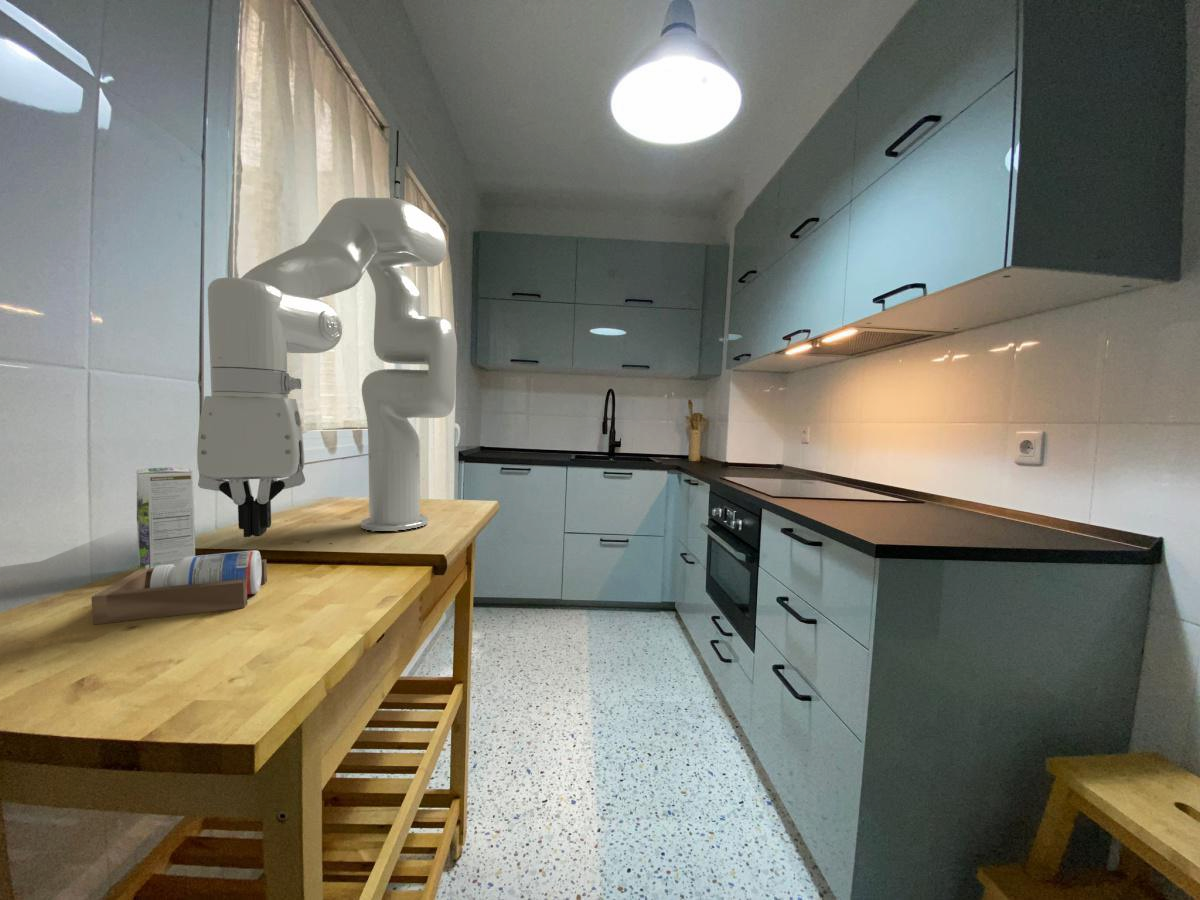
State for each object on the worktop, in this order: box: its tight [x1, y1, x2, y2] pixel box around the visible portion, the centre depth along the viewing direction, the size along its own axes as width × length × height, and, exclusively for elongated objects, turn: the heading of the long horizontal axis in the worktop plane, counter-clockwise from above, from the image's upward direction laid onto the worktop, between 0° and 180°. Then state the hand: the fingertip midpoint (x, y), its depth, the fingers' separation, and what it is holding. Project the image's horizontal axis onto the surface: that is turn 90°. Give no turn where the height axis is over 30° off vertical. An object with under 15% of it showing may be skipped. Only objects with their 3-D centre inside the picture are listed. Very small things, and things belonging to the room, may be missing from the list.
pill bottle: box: [150, 549, 262, 596], centre depth 57 cm, size 6×5×10 cm
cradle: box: [90, 558, 268, 625], centre depth 56 cm, size 9×13×3 cm
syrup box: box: [136, 466, 196, 570], centre depth 66 cm, size 6×6×14 cm
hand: (255, 533), depth 58 cm, fingers closed
